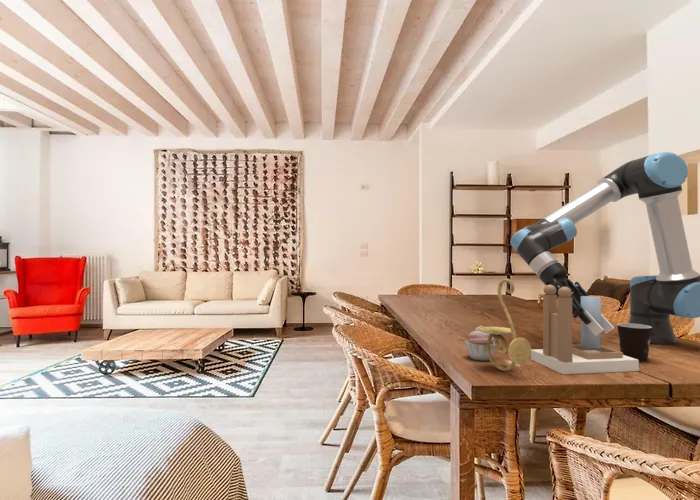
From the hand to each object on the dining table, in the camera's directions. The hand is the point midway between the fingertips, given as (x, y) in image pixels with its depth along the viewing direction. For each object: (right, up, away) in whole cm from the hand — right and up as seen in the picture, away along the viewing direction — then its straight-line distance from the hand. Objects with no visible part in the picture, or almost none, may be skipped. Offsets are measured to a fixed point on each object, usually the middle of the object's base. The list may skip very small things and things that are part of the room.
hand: (604, 331), depth 116 cm
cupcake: (-31, -10, +10) cm, 34 cm away
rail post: (-2, -5, +3) cm, 6 cm away
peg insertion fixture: (-5, -10, +3) cm, 11 cm away
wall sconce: (-29, -10, -3) cm, 31 cm away
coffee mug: (+15, -10, +10) cm, 21 cm away
